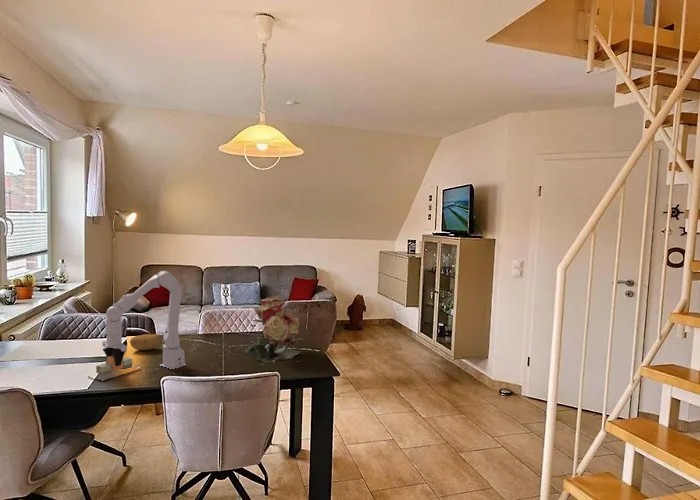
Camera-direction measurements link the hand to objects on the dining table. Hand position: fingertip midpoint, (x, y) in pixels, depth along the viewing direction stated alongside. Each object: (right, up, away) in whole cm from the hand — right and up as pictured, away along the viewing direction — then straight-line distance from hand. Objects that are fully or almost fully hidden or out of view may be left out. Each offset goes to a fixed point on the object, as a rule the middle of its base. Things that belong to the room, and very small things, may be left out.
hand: (114, 364), depth 196 cm
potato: (-2, -2, +33) cm, 34 cm away
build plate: (0, -4, 0) cm, 4 cm away
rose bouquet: (+65, -3, +34) cm, 73 cm away
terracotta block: (0, -2, 0) cm, 2 cm away
